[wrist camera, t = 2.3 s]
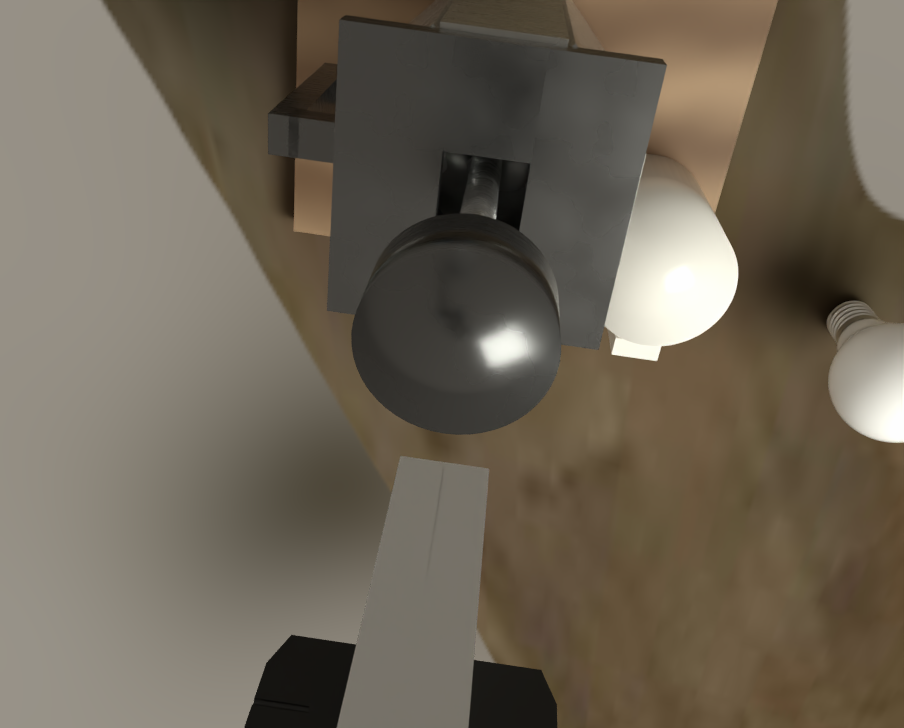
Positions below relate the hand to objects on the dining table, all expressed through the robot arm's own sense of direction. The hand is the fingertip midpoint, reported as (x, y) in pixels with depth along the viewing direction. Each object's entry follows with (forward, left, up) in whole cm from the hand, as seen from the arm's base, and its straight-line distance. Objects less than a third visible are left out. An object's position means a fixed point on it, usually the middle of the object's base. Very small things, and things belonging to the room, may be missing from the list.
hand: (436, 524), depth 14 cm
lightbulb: (+11, +23, -36) cm, 44 cm away
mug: (+6, +9, -35) cm, 36 cm away
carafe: (0, -2, -35) cm, 35 cm away
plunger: (0, 0, -24) cm, 24 cm away
